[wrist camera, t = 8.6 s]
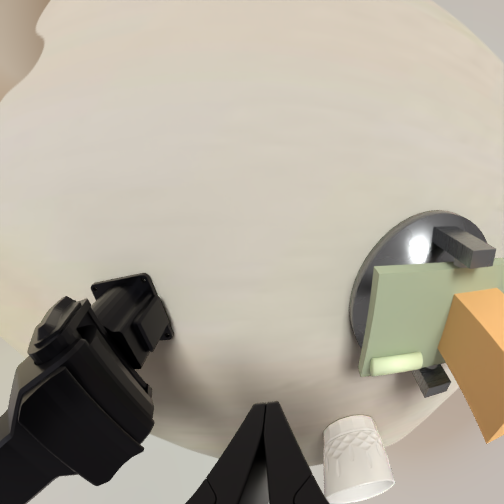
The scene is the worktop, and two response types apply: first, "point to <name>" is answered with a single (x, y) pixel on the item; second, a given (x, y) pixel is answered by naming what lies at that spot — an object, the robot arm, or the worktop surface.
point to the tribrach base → (419, 252)
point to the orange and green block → (441, 330)
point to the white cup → (354, 461)
